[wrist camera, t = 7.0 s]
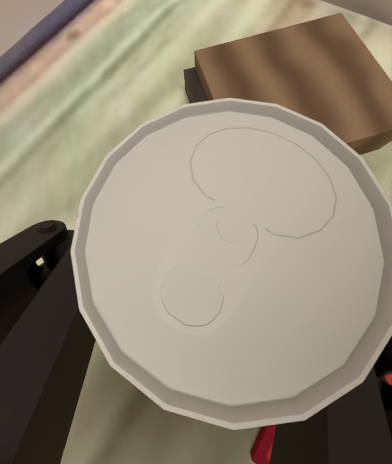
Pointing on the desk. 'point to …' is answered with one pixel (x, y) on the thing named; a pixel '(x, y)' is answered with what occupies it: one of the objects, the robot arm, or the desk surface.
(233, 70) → the brown flat block
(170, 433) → the desk surface
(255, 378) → the supplement can
